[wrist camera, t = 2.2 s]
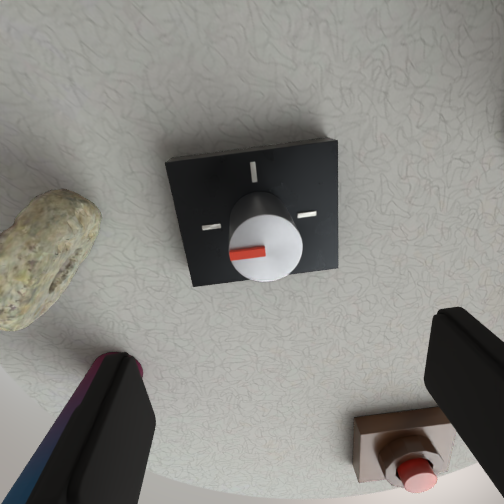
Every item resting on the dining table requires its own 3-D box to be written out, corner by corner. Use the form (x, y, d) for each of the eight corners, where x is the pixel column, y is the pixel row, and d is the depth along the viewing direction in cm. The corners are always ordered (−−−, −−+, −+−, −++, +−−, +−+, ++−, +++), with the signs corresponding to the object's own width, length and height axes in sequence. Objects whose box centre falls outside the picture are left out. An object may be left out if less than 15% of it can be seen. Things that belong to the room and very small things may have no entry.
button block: (446, 405, 37) (470, 437, 33) (437, 454, 41) (457, 487, 37) (353, 417, 37) (366, 450, 33) (352, 464, 41) (364, 499, 37)
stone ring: (71, 288, 28) (-7, 374, 19) (31, 267, 27) (-72, 348, 18) (125, 196, 25) (62, 247, 16) (82, 170, 24) (-11, 207, 15)
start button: (430, 454, 35) (439, 470, 33) (426, 474, 36) (435, 490, 35) (397, 458, 35) (405, 475, 33) (395, 478, 36) (402, 495, 35)
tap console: (328, 137, 24) (338, 140, 21) (329, 255, 28) (339, 269, 26) (171, 157, 24) (164, 162, 21) (196, 272, 28) (192, 288, 26)
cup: (162, 386, 33) (112, 578, 20) (102, 401, 34) (12, 598, 20) (135, 337, 31) (56, 521, 17) (70, 354, 31) (-58, 546, 17)
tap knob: (286, 187, 23) (301, 211, 17) (290, 243, 25) (305, 279, 19) (225, 195, 23) (223, 221, 17) (234, 250, 25) (234, 289, 19)
